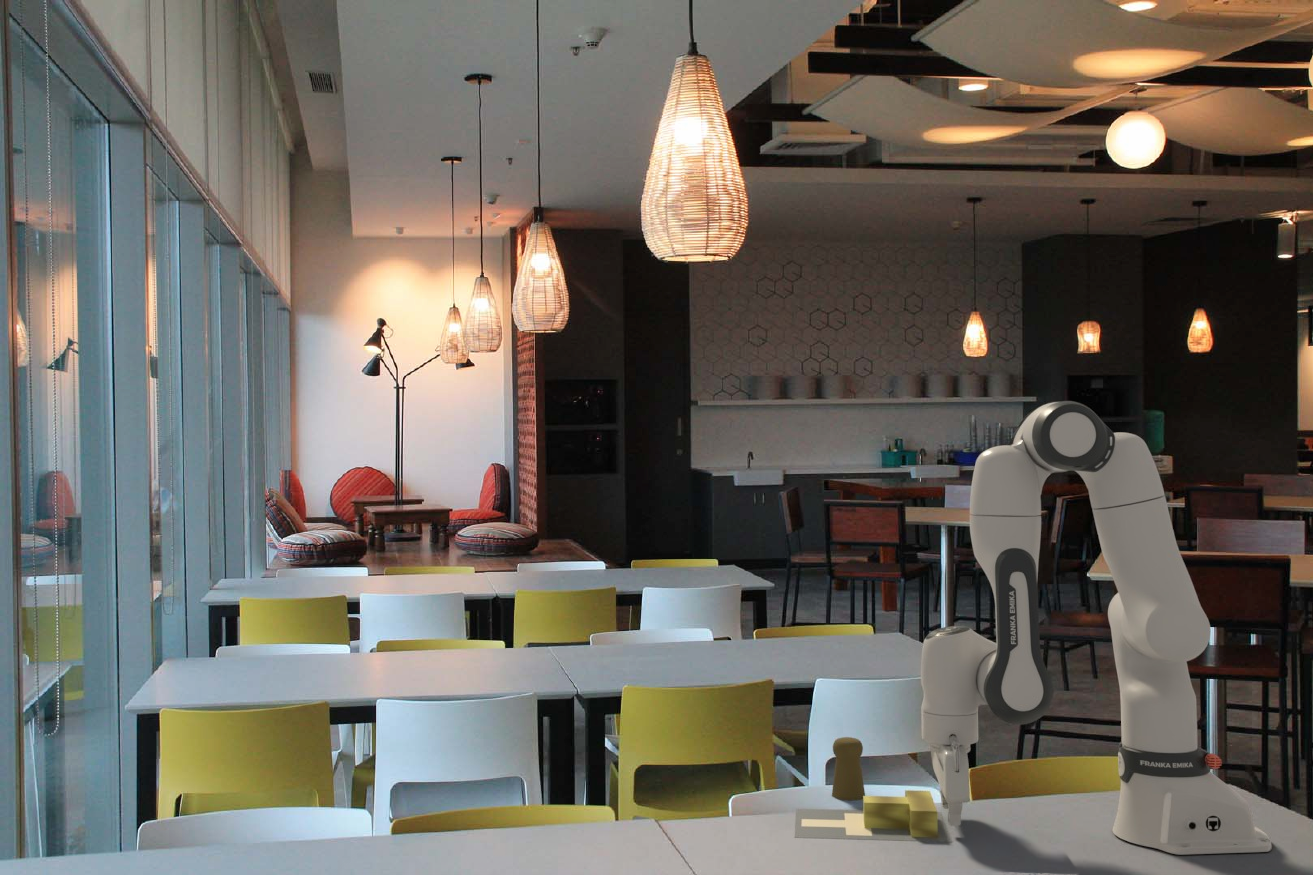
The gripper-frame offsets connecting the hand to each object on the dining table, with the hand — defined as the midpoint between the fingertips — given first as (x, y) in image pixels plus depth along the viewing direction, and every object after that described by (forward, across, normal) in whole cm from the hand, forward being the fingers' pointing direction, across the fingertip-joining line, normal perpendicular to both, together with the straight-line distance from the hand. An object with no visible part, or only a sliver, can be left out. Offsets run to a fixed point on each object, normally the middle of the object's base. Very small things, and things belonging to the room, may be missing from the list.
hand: (951, 815), depth 191 cm
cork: (+3, +17, +16) cm, 23 cm away
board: (+3, 0, +13) cm, 13 cm away
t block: (+2, 0, +8) cm, 8 cm away
